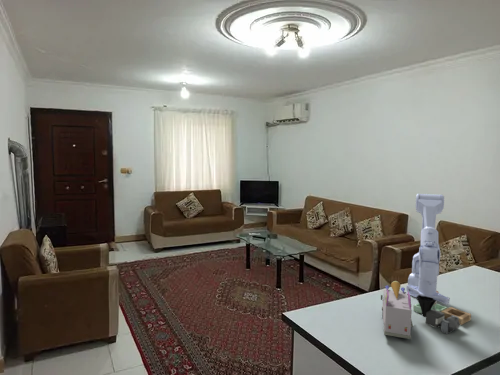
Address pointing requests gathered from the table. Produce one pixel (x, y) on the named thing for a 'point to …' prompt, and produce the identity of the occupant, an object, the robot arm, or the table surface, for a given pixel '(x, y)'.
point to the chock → (434, 318)
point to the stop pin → (434, 304)
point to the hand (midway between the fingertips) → (425, 316)
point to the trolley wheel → (449, 324)
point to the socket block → (457, 314)
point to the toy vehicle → (396, 312)
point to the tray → (418, 309)
